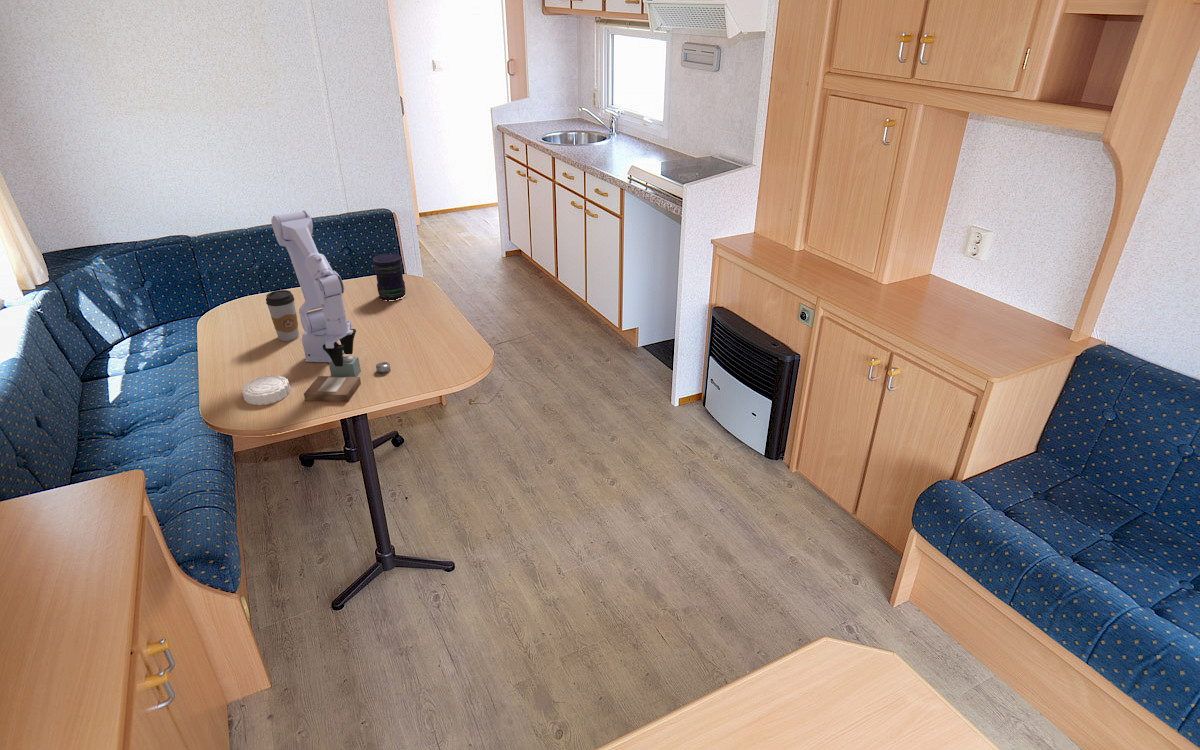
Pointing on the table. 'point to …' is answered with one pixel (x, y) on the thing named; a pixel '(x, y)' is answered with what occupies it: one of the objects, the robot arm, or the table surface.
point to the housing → (346, 367)
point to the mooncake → (266, 390)
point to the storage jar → (389, 276)
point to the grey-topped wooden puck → (383, 368)
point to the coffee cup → (283, 314)
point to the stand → (332, 388)
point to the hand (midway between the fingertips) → (343, 359)
